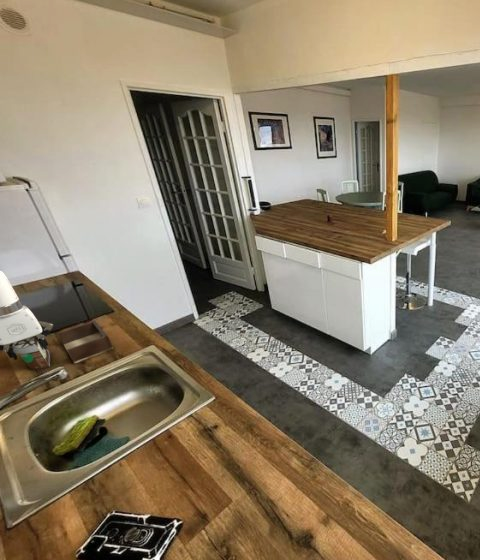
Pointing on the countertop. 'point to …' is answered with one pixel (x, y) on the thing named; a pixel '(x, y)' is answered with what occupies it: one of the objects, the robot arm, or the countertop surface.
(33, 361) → the food container
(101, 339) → the open brown box
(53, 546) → the countertop surface
